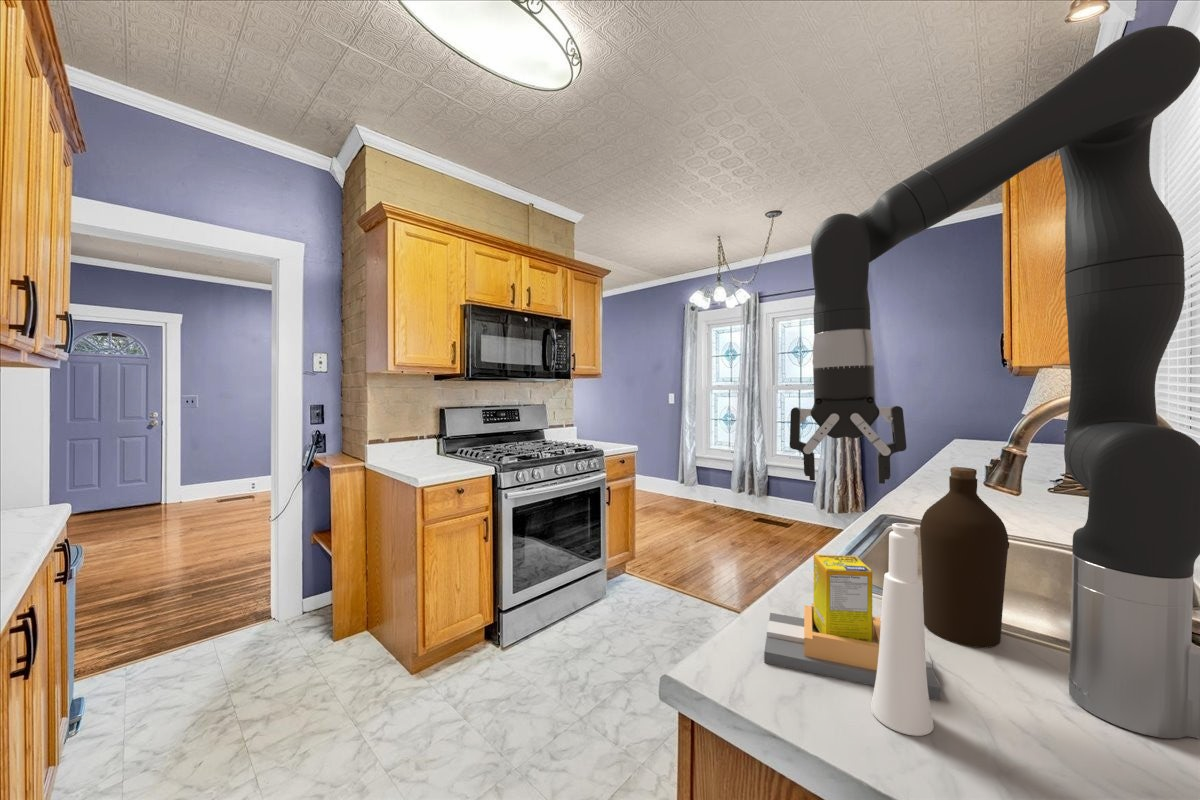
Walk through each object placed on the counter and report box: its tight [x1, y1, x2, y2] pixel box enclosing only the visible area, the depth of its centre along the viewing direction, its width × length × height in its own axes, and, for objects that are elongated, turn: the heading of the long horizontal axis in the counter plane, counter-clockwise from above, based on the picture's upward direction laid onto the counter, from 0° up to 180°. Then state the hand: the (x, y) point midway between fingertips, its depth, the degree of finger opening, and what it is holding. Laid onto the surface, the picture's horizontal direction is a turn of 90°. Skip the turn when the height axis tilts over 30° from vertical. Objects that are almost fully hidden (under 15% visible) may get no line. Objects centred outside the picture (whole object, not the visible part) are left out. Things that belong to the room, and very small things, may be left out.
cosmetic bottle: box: [870, 522, 934, 737], centre depth 54 cm, size 6×6×22 cm
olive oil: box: [919, 466, 1010, 649], centre depth 72 cm, size 11×11×25 cm
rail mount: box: [763, 603, 942, 701], centre depth 66 cm, size 20×12×4 cm, turn 67°
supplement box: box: [813, 553, 873, 642], centre depth 66 cm, size 6×6×11 cm
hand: (845, 481), depth 66 cm, fingers open, 8 cm apart
